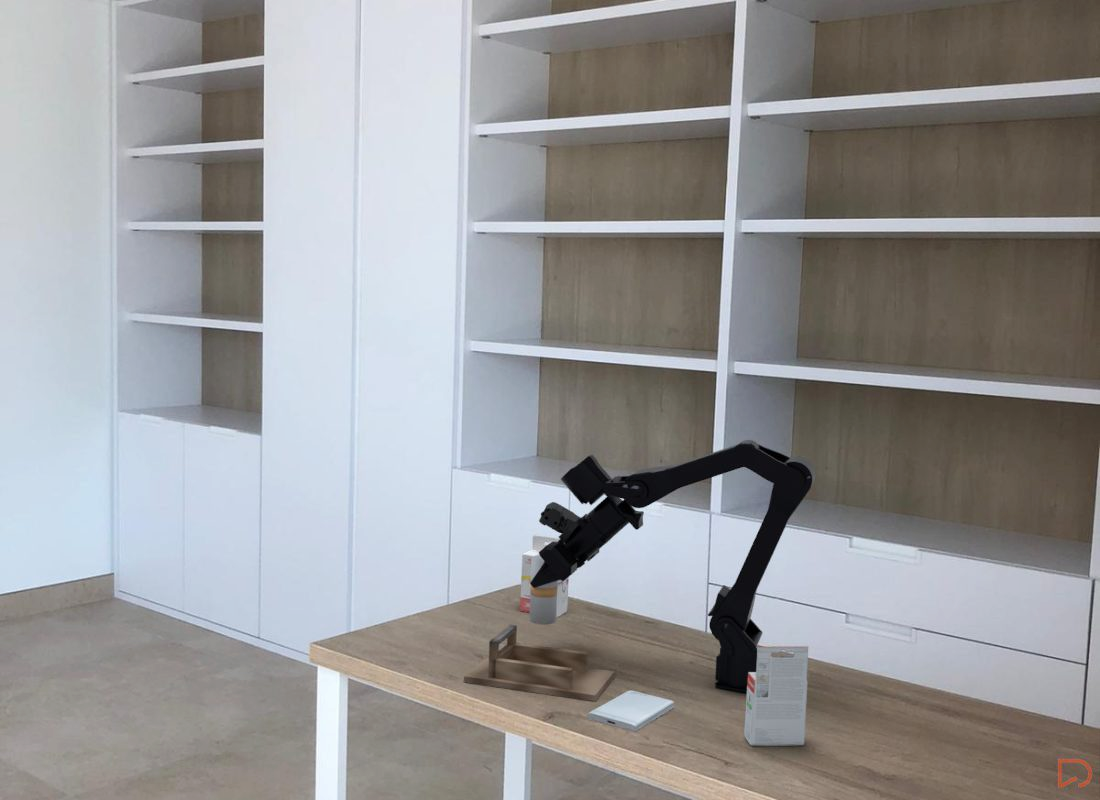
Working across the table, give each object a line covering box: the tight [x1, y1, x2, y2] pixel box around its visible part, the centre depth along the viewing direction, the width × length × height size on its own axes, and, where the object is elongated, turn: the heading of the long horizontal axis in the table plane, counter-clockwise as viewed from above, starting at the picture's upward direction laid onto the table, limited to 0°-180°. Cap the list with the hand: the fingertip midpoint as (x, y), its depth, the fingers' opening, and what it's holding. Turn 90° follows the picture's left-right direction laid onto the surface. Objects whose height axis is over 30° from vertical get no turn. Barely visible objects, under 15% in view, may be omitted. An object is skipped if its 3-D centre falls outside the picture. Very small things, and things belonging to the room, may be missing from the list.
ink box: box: [743, 646, 809, 747], centre depth 163 cm, size 4×8×15 cm, turn 96°
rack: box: [463, 624, 615, 702], centre depth 185 cm, size 22×12×7 cm, turn 72°
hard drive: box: [587, 690, 675, 733], centre depth 172 cm, size 2×8×12 cm
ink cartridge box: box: [519, 534, 570, 618], centre depth 225 cm, size 9×5×15 cm, turn 66°
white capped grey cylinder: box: [529, 555, 558, 625], centre depth 195 cm, size 5×5×11 cm
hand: (536, 582), depth 196 cm, fingers closed on white capped grey cylinder, 5 cm apart
